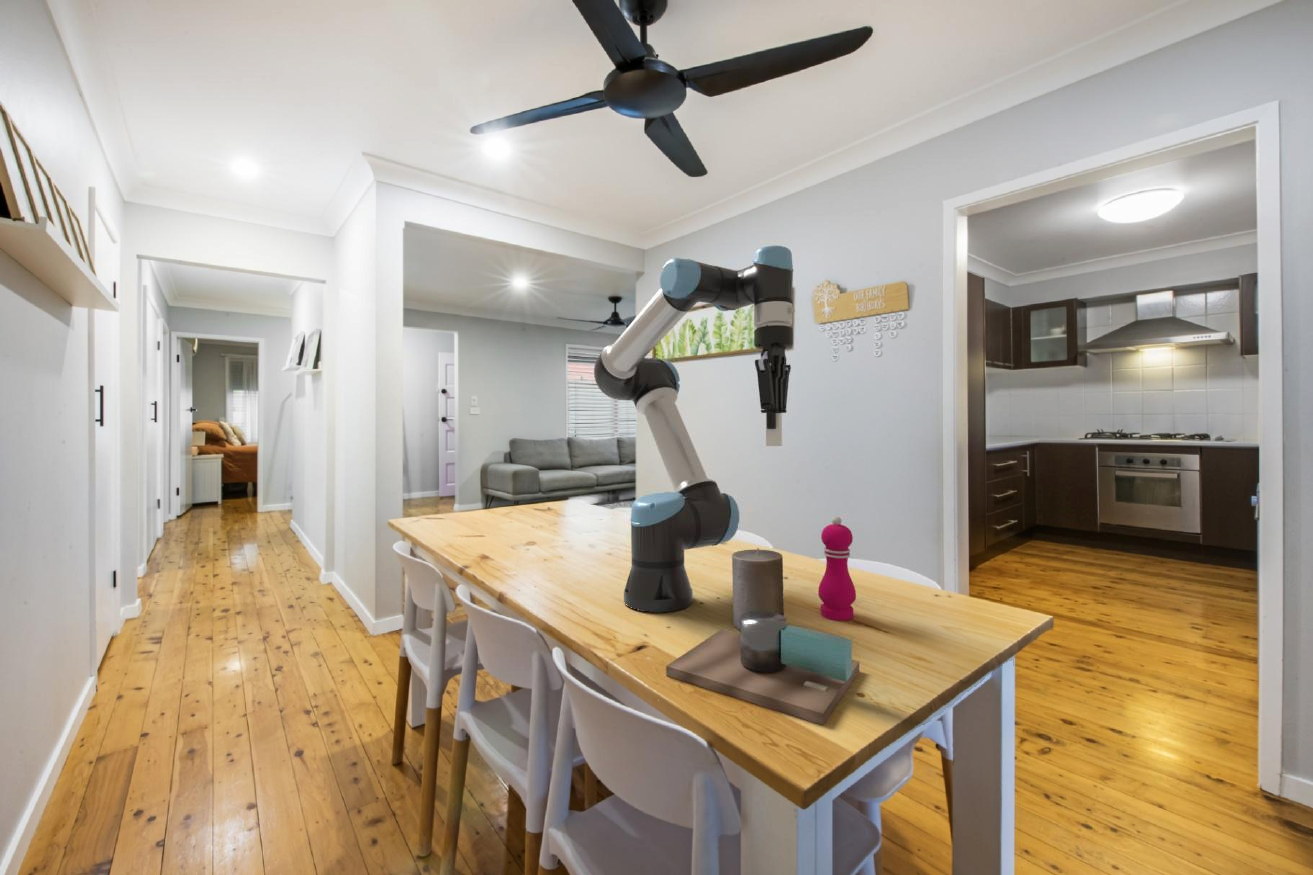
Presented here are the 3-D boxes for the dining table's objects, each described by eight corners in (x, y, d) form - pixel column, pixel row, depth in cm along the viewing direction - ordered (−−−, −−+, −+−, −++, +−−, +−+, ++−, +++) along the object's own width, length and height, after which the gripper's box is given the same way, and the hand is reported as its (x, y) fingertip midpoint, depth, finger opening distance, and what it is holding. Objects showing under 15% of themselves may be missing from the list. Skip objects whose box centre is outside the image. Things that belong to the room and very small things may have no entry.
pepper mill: (849, 624, 101) (849, 520, 100) (813, 616, 105) (812, 517, 105) (860, 614, 107) (860, 515, 106) (825, 607, 111) (825, 512, 111)
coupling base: (666, 675, 80) (666, 664, 80) (721, 637, 95) (721, 628, 95) (823, 725, 67) (822, 712, 66) (859, 671, 81) (859, 660, 81)
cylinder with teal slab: (840, 697, 70) (840, 647, 70) (732, 663, 80) (731, 620, 80) (856, 677, 75) (856, 631, 75) (753, 648, 86) (753, 608, 86)
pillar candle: (791, 622, 102) (790, 545, 102) (772, 639, 94) (771, 555, 94) (745, 614, 107) (744, 540, 107) (723, 628, 99) (722, 549, 99)
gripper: (778, 319, 97) (779, 447, 97) (803, 330, 107) (803, 445, 108) (741, 324, 101) (742, 446, 101) (768, 334, 112) (769, 444, 112)
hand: (773, 445), depth 105 cm, fingers closed
